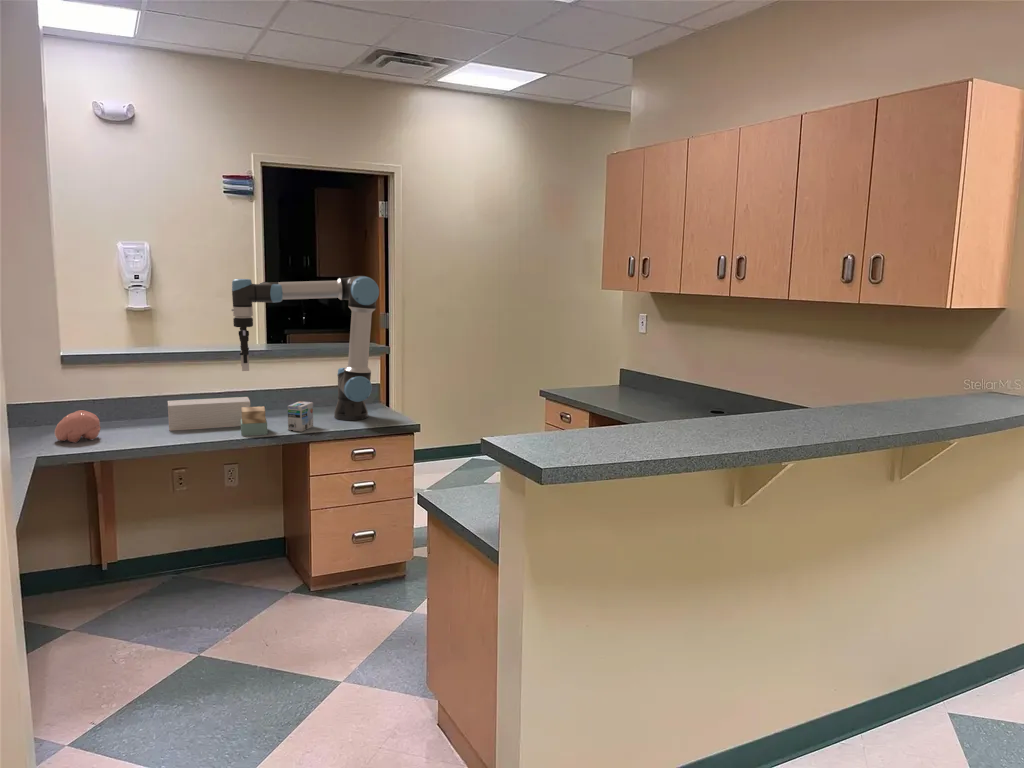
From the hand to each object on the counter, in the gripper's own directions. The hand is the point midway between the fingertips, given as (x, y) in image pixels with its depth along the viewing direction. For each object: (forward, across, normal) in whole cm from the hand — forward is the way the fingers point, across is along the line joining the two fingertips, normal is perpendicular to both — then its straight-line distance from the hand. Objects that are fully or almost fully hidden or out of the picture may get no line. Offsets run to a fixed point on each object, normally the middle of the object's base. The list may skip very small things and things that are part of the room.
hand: (245, 368), depth 305 cm
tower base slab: (+26, +5, +2) cm, 27 cm away
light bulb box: (+26, +3, +21) cm, 34 cm away
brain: (+26, +2, -62) cm, 67 cm away
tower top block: (+21, +5, +2) cm, 22 cm away
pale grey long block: (+26, -12, -15) cm, 32 cm away
